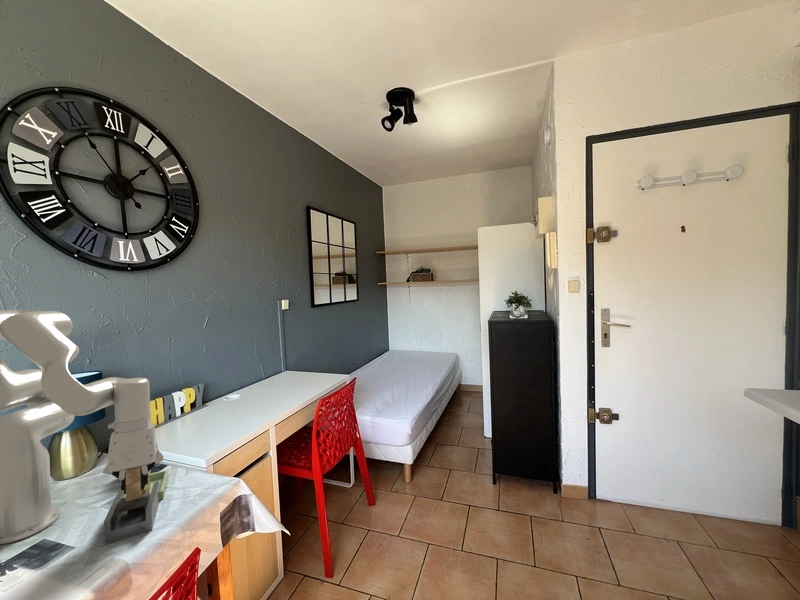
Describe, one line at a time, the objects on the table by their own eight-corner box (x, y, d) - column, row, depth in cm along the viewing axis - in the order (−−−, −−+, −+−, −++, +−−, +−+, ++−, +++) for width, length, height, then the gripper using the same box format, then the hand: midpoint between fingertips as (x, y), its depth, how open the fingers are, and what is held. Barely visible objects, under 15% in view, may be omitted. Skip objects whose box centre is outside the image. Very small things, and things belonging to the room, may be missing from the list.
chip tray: (115, 512, 91) (115, 503, 91) (127, 486, 103) (126, 479, 103) (163, 499, 97) (163, 490, 97) (168, 476, 109) (168, 469, 109)
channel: (104, 544, 79) (103, 521, 79) (118, 512, 91) (118, 491, 91) (152, 530, 84) (151, 507, 84) (159, 500, 96) (159, 481, 96)
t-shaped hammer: (118, 513, 84) (118, 472, 85) (121, 507, 87) (121, 468, 88) (147, 505, 87) (146, 465, 88) (149, 500, 90) (148, 462, 91)
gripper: (88, 435, 81) (90, 507, 81) (167, 422, 89) (169, 487, 89) (98, 425, 87) (100, 491, 87) (171, 413, 95) (172, 474, 96)
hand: (135, 488), depth 88 cm, fingers closed on t-shaped hammer, 3 cm apart
